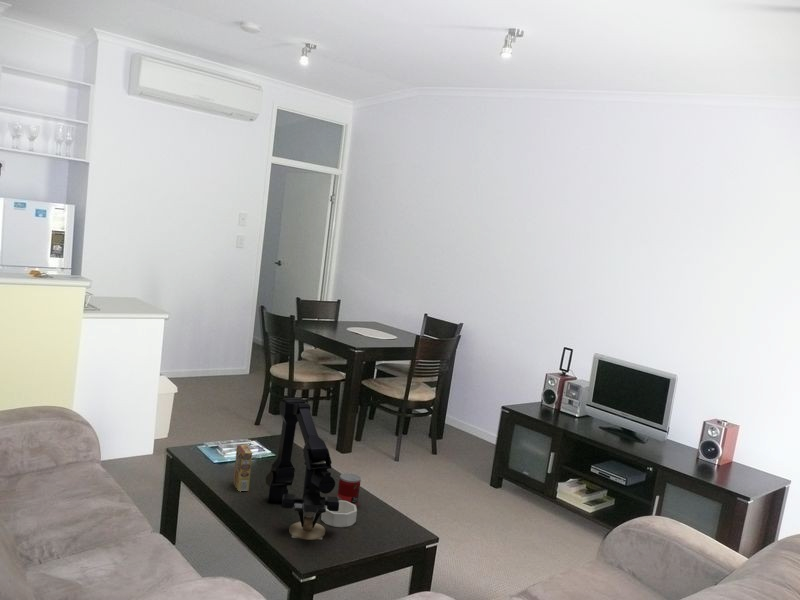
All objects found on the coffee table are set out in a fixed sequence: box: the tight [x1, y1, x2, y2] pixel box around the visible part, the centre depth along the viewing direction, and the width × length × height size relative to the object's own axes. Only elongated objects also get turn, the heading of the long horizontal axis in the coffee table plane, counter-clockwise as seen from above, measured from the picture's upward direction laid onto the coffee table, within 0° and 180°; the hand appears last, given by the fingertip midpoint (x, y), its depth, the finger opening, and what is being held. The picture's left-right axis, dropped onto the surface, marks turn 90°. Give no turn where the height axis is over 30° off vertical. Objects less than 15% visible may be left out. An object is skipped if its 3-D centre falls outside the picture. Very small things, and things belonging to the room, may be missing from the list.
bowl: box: [320, 500, 358, 528], centre depth 240 cm, size 12×12×5 cm
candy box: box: [233, 444, 253, 493], centre depth 258 cm, size 9×4×15 cm, turn 27°
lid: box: [288, 515, 326, 541], centre depth 228 cm, size 12×12×5 cm
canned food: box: [336, 472, 362, 508], centre depth 254 cm, size 8×8×11 cm
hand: (307, 526), depth 228 cm, fingers closed on lid, 3 cm apart
